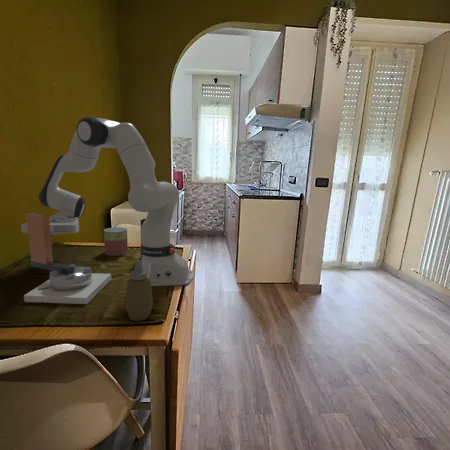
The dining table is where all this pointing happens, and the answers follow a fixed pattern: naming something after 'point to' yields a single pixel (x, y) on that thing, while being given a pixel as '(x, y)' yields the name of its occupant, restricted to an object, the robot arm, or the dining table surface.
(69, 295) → the white square board
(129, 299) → the squeeze bottle
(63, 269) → the silver brown l-shaped piece
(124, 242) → the canned food
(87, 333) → the dining table surface
